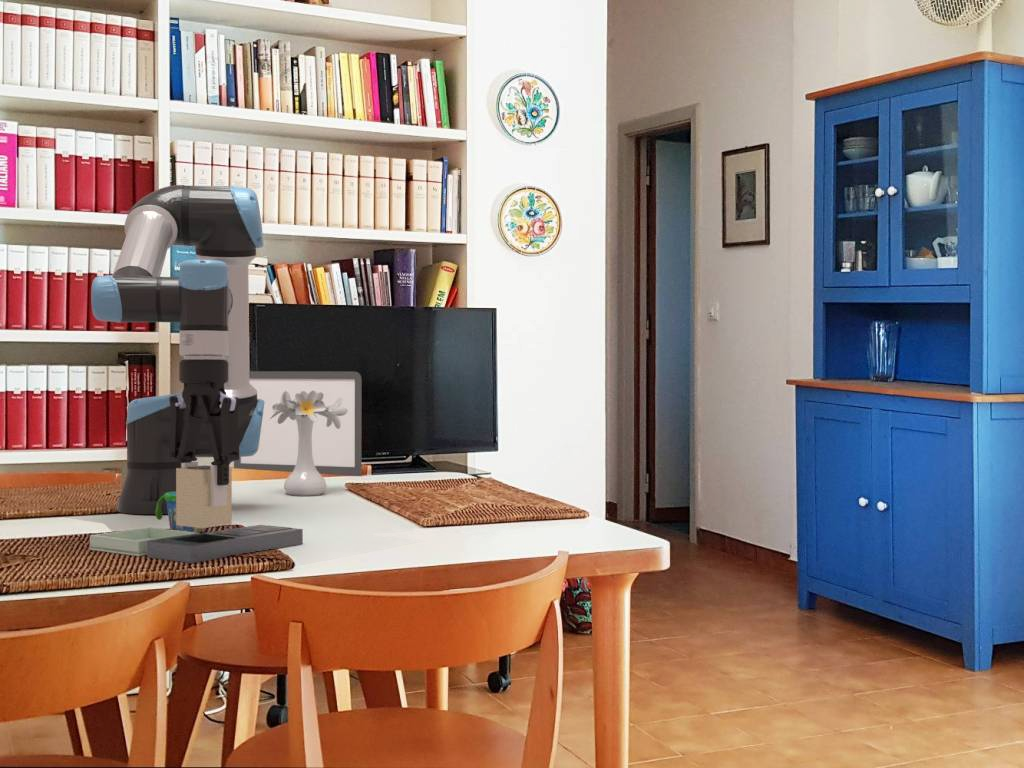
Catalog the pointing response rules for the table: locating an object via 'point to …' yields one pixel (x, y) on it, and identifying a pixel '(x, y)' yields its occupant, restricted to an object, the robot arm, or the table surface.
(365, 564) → the table surface
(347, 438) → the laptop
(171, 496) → the snack cup
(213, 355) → the robot arm
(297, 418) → the flower vase
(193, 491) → the square wooden post
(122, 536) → the parts tray
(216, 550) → the grey compartment tray
